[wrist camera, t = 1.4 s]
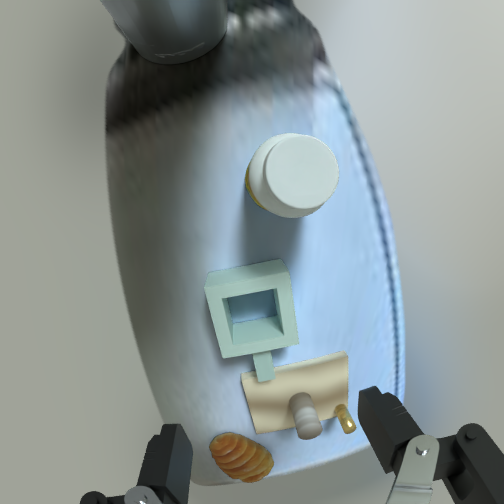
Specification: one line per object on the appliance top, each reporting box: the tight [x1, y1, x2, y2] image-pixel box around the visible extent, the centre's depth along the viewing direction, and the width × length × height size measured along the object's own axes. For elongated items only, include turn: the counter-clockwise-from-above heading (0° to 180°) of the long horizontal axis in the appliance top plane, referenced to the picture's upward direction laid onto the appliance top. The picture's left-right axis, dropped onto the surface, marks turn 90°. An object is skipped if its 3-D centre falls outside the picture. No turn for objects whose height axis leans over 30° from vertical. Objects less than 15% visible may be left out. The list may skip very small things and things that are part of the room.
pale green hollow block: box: [204, 259, 299, 382], centre depth 24 cm, size 10×6×4 cm, turn 10°
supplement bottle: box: [245, 133, 339, 218], centre depth 19 cm, size 5×5×10 cm
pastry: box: [209, 432, 274, 483], centre depth 28 cm, size 9×7×4 cm
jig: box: [241, 351, 348, 440], centre depth 25 cm, size 9×11×6 cm
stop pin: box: [334, 404, 356, 434], centre depth 26 cm, size 1×1×4 cm
